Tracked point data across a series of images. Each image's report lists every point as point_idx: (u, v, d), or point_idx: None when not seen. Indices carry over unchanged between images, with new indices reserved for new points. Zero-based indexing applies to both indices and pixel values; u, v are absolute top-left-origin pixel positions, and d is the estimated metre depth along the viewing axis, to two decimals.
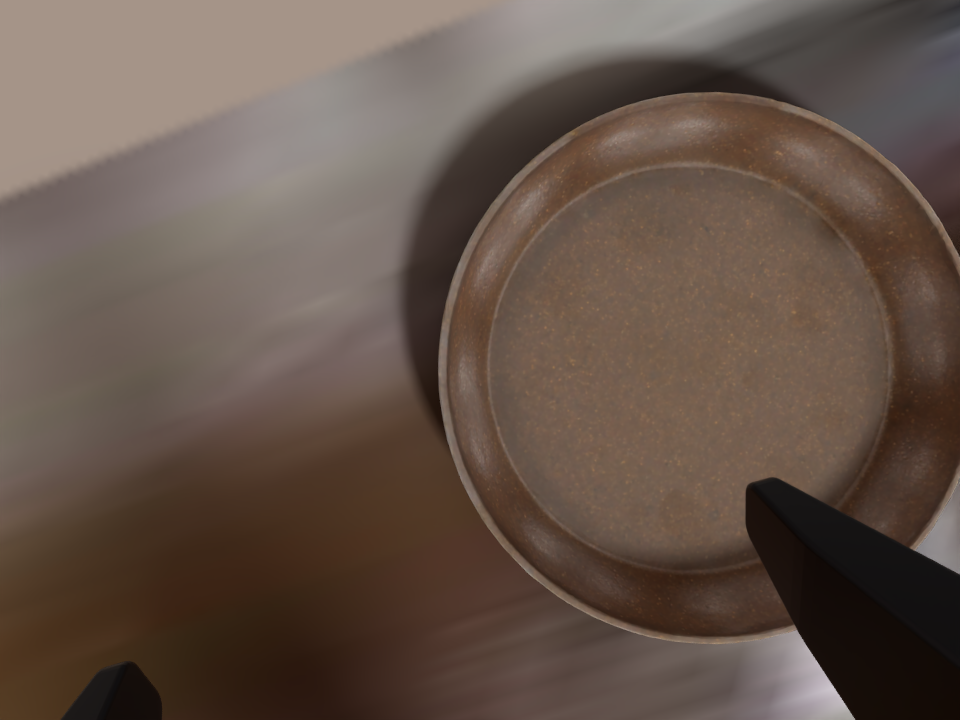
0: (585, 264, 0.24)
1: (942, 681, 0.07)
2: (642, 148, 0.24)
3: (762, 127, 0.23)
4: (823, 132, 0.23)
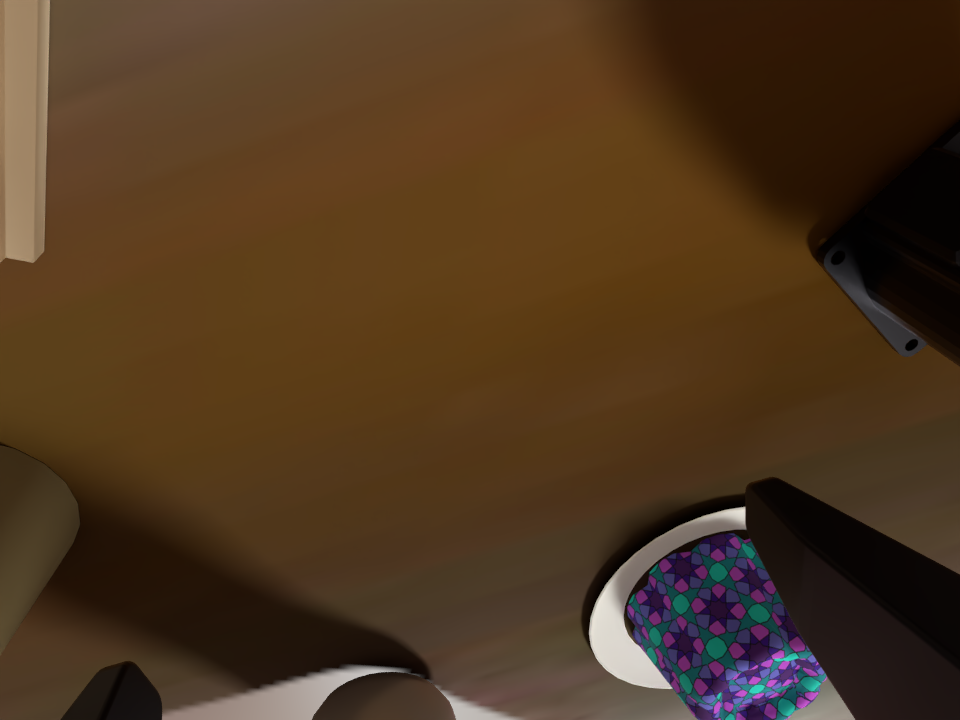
0: None
1: (942, 681, 0.07)
2: None
3: None
4: None
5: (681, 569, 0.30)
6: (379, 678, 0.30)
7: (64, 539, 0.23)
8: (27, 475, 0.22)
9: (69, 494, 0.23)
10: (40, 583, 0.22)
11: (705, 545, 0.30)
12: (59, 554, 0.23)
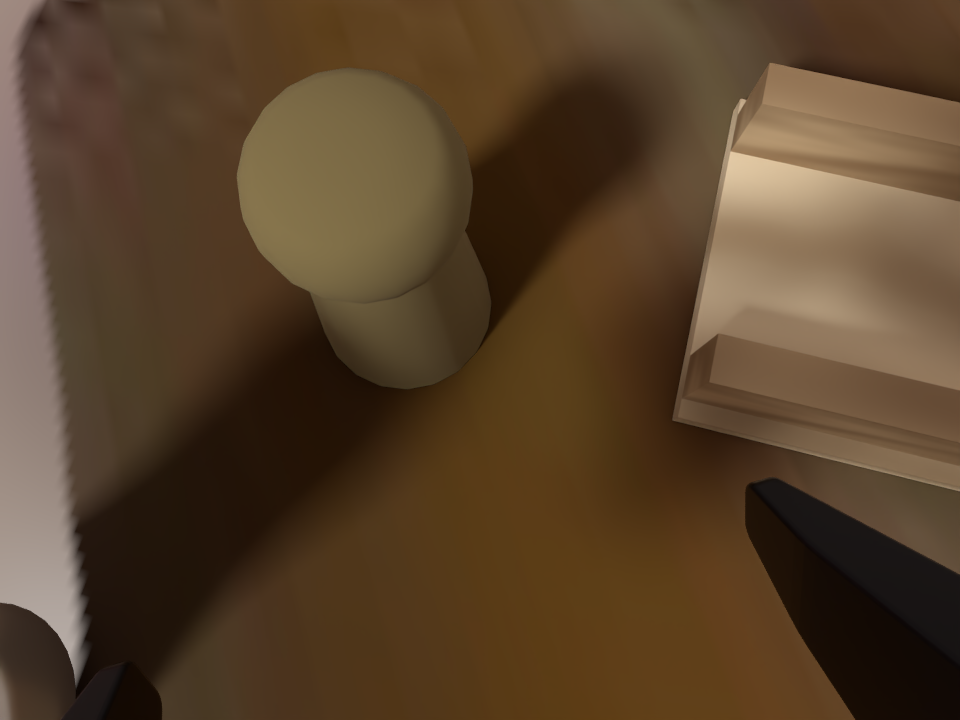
0: None
1: (942, 681, 0.07)
2: None
3: None
4: None
5: None
6: None
7: (385, 377, 0.23)
8: (459, 360, 0.24)
9: (421, 385, 0.24)
10: (371, 360, 0.22)
11: None
12: (376, 372, 0.23)
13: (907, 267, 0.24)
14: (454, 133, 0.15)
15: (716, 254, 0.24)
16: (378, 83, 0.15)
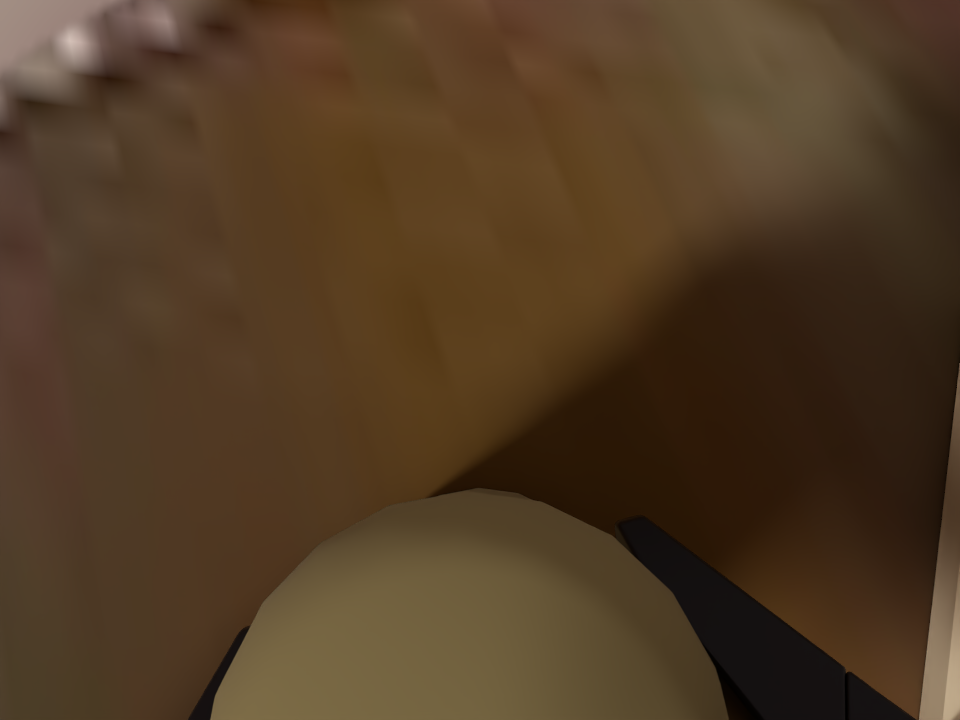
0: None
1: None
2: None
3: None
4: None
5: None
6: None
7: None
8: None
9: None
10: None
11: None
12: None
13: None
14: (716, 694, 0.06)
15: None
16: (543, 600, 0.06)
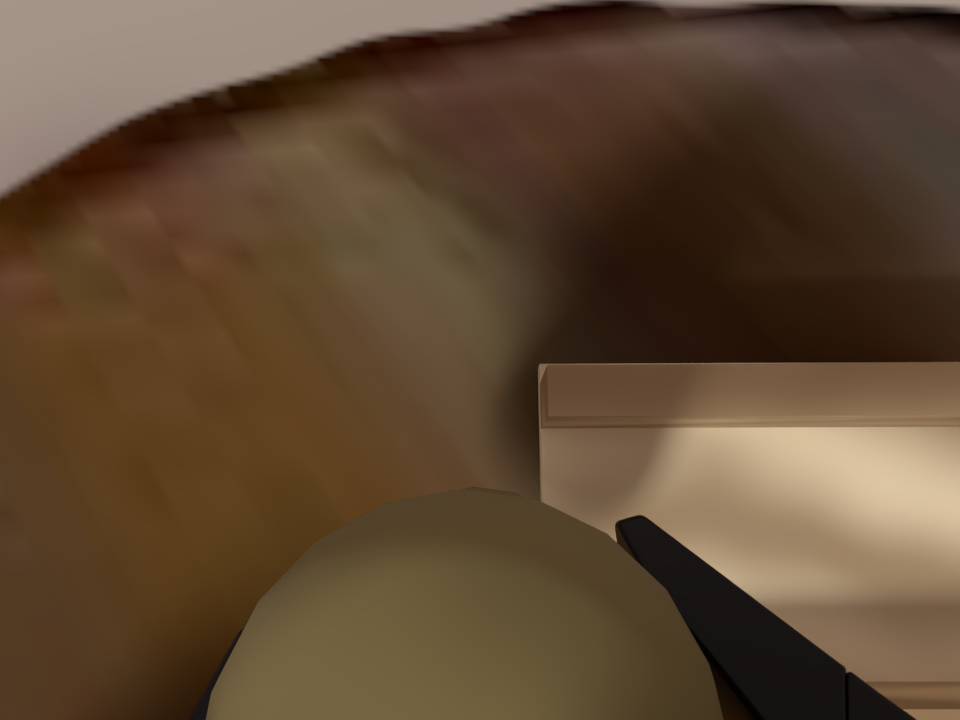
0: None
1: None
2: None
3: None
4: None
5: None
6: None
7: None
8: None
9: None
10: None
11: None
12: None
13: (751, 517, 0.22)
14: (709, 690, 0.06)
15: None
16: (539, 597, 0.06)
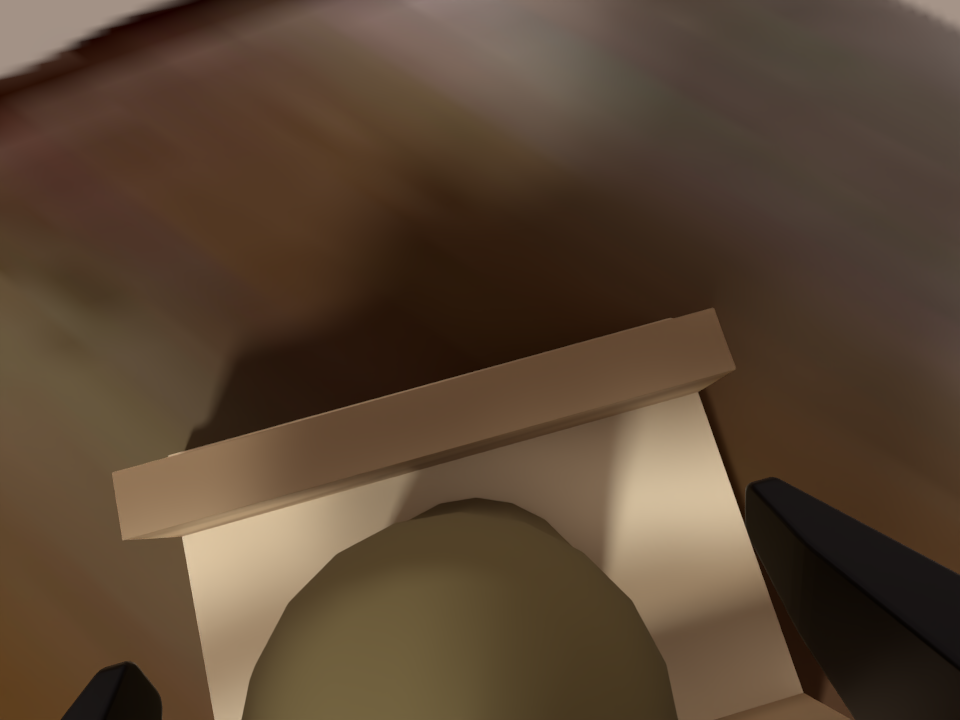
0: None
1: (942, 681, 0.07)
2: None
3: None
4: None
5: None
6: None
7: None
8: None
9: None
10: None
11: None
12: None
13: None
14: (662, 686, 0.08)
15: (218, 694, 0.17)
16: (519, 606, 0.07)
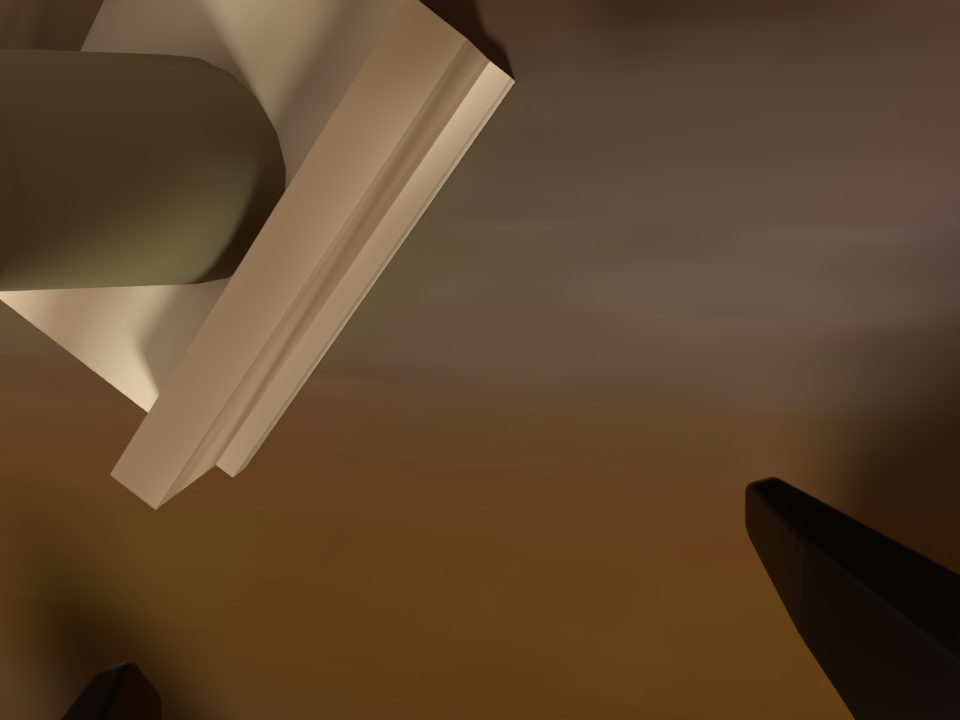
0: None
1: (942, 681, 0.07)
2: None
3: None
4: None
5: None
6: None
7: (213, 273, 0.19)
8: (270, 197, 0.18)
9: None
10: (165, 279, 0.17)
11: None
12: (196, 278, 0.18)
13: None
14: None
15: (80, 353, 0.21)
16: None
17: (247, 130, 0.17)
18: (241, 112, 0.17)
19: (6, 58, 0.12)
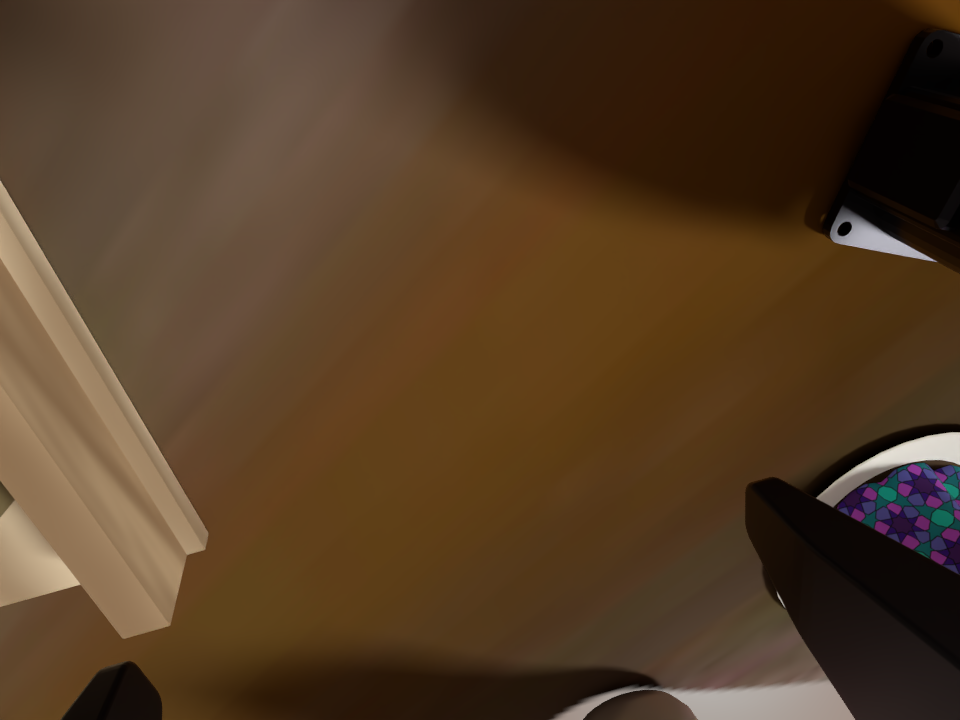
0: None
1: (942, 681, 0.07)
2: None
3: None
4: None
5: None
6: (611, 705, 0.34)
7: None
8: None
9: None
10: None
11: (843, 509, 0.31)
12: (5, 496, 0.20)
13: None
14: None
15: (35, 592, 0.24)
16: None
17: None
18: None
19: None
